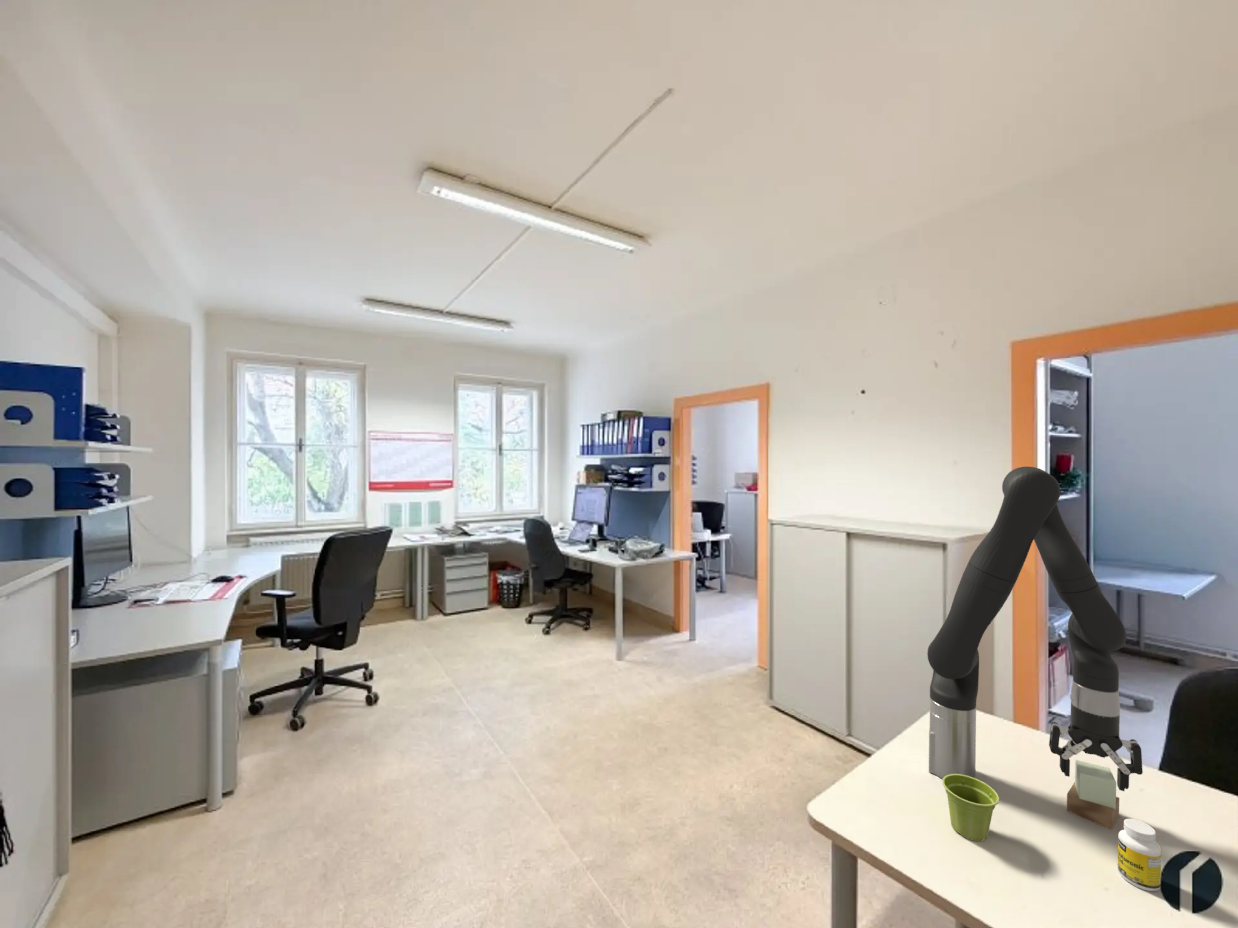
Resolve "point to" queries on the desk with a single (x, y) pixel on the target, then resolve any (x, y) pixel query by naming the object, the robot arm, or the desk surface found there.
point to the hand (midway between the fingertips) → (1093, 781)
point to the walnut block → (1092, 809)
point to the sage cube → (1095, 784)
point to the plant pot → (970, 805)
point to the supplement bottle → (1139, 855)
